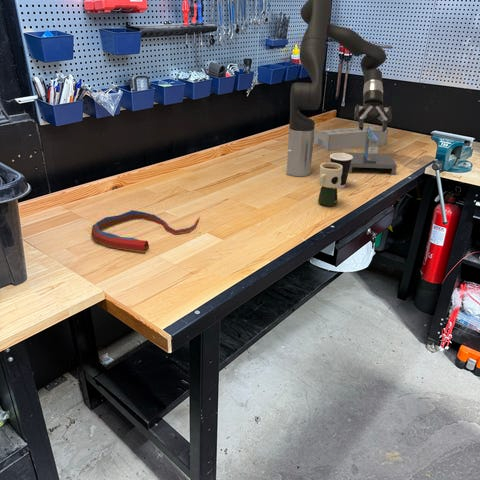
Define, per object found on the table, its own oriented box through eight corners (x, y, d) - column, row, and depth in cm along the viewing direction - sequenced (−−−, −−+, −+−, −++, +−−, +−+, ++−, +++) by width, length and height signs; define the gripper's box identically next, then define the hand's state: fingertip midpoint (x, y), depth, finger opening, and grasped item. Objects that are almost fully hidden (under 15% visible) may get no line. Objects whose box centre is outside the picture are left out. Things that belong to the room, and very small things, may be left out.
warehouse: (368, 138, 223) (370, 122, 219) (385, 146, 211) (388, 129, 207) (313, 143, 214) (314, 126, 211) (327, 151, 202) (329, 134, 199)
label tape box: (376, 162, 176) (381, 130, 171) (365, 161, 177) (370, 129, 171) (373, 155, 184) (377, 124, 178) (363, 154, 184) (367, 124, 179)
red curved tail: (166, 205, 150) (164, 191, 148) (214, 222, 137) (213, 207, 134) (81, 239, 130) (78, 223, 128) (127, 263, 116) (125, 246, 114)
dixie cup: (323, 182, 167) (326, 153, 162) (343, 180, 169) (346, 152, 164) (332, 190, 161) (335, 160, 155) (353, 188, 162) (356, 158, 157)
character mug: (327, 211, 145) (331, 172, 139) (308, 205, 149) (312, 167, 143) (345, 202, 152) (350, 164, 145) (327, 196, 156) (331, 159, 150)
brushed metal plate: (347, 173, 177) (348, 163, 175) (343, 161, 189) (344, 152, 187) (395, 174, 175) (396, 164, 173) (388, 163, 188) (389, 153, 186)
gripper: (388, 100, 186) (388, 136, 182) (353, 98, 187) (352, 133, 182) (393, 89, 179) (394, 126, 174) (357, 87, 180) (356, 123, 175)
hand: (372, 130), depth 178 cm, fingers open, 8 cm apart
